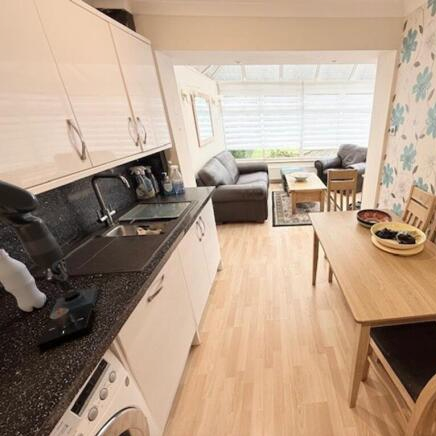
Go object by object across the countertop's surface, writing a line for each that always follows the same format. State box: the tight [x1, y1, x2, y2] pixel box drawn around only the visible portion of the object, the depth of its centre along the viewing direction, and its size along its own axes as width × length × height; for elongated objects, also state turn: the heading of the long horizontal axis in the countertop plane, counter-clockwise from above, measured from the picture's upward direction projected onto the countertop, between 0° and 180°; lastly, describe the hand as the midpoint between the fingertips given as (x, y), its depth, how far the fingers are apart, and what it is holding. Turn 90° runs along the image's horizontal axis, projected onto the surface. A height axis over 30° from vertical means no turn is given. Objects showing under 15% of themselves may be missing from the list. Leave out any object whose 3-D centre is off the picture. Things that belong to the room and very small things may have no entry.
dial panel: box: [36, 307, 96, 352], centre depth 78 cm, size 12×10×3 cm
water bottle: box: [0, 248, 47, 313], centre depth 85 cm, size 7×7×25 cm
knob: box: [49, 308, 75, 330], centre depth 76 cm, size 4×4×5 cm
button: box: [63, 289, 79, 301], centre depth 88 cm, size 4×4×2 cm
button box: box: [49, 286, 99, 318], centre depth 89 cm, size 12×10×4 cm
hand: (67, 288), depth 86 cm, fingers closed
